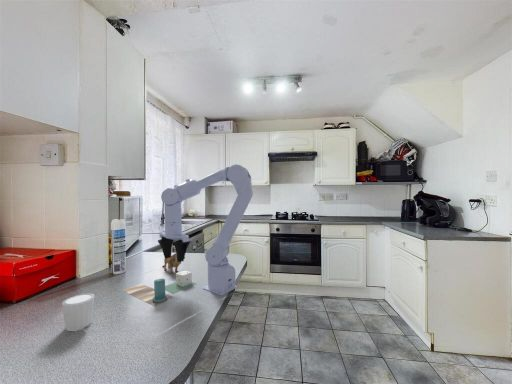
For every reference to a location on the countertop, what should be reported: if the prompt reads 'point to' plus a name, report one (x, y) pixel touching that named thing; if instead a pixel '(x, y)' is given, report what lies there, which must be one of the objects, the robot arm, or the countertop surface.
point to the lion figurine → (172, 263)
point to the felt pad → (177, 287)
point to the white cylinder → (78, 311)
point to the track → (144, 293)
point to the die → (183, 278)
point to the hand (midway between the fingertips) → (174, 259)
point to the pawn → (159, 291)
